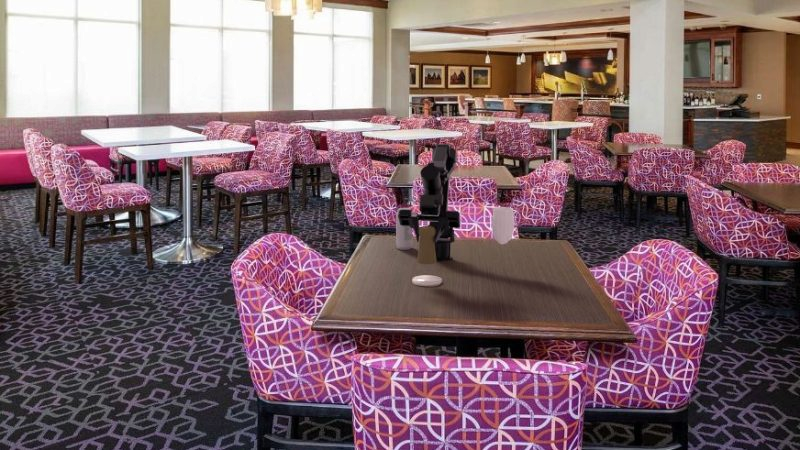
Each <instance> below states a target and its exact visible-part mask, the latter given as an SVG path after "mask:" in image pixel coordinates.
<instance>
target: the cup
mask: <svg viewBox="0 0 800 450" xmlns="http://www.w3.org/2000/svg"><path fill="white" fill-rule="evenodd" d="M491 217H492V220H491V229H492V235H493V238H494V240H495V241H496V242H497V243H498V244H500V245H505V244H508V242H509V241H511V240H512V237H513V235H514V230H515V213H514V208H513V207H508V206H496V207H493V213H492V216H491Z"/></svg>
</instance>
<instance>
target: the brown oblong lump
mask: <svg viewBox="0 0 800 450" xmlns="http://www.w3.org/2000/svg"><path fill="white" fill-rule="evenodd" d="M419 227H420V228H419V242H418V243H419V245H418V251H417V260H416V263H418V264H419V265H434V264H437V262H438V261H437V260H436V252H435V244H434V236H435V233H436V230H435V228H434V227H432V226H428V225H424V226H422V225H421V226H419Z"/></svg>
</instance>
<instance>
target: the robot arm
mask: <svg viewBox="0 0 800 450" xmlns="http://www.w3.org/2000/svg"><path fill="white" fill-rule="evenodd" d="M457 162H458V152H457V150H456V148H453V147H451V144H448V143H445V144H444V143H437V144H435V145H434V148H433V149H432V155H431V162H427V163H426V165H425V166H424V167H422V169H421V170H420V179H421V184H422V188H423V194H420V195H419V205H418V206H419V212H420V213H418V212H413V210H412V209H411V208H410V209H401V210H400V211H399V213H398V218H399V222H400V225H402V226H410V228H412V230H413V231H414V233H415V238H416V242H417V243H420V236H419V228H420V227H421V226H420V222H429V224H428V225H427V226H432V227H434V228H435V230H436V233H435V236H434V244H435V252H436V260H437V262H438V261H439V262H440V261H448V260H453V259H454V258H453V257H452V256H451V244H452V243H455V241H456V238H455V237H456V236H455V235H456V234H455V229H459V228H461V213H460V211H459V210H449V209H448V207H449V194H450V193H449V192H450V178H451V175H452V173H453V172H454V171H455V169H456V164H457Z"/></svg>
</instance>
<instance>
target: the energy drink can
mask: <svg viewBox="0 0 800 450" xmlns="http://www.w3.org/2000/svg"><path fill="white" fill-rule="evenodd" d="M401 209H411V208H409V207H399V208H397V211H396V213H395V217H396V219H395V221H396V222H395V223H396V226H395V229H396V230H395V231H396V232H395V233H396V234H395V244H396V247H397V249H398V250H402V251H403V250H404V251H405V250H407V251H408V250H411V249H412V247H413V228H410V226H402V225H400V222H399V218H398V213H399V211H400V210H401Z"/></svg>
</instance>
